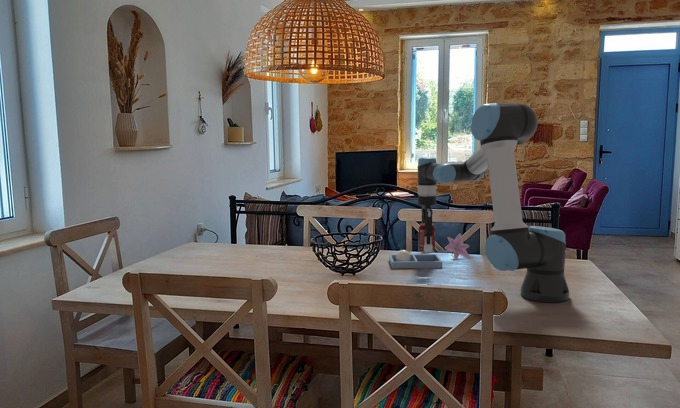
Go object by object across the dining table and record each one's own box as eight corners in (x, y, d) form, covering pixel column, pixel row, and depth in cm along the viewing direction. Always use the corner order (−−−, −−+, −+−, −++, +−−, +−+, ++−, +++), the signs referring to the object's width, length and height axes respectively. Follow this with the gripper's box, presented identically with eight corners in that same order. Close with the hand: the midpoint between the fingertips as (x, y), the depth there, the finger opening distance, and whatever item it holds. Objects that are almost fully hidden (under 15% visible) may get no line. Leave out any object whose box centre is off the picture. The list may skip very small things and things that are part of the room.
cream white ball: (411, 265, 217) (411, 251, 216) (396, 265, 217) (396, 251, 216) (409, 262, 223) (409, 248, 222) (395, 262, 223) (395, 248, 222)
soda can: (434, 254, 215) (434, 225, 214) (418, 253, 217) (418, 224, 215) (435, 250, 222) (435, 222, 220) (418, 250, 223) (419, 222, 222)
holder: (442, 268, 213) (442, 261, 213) (392, 269, 213) (391, 262, 213) (436, 260, 226) (436, 254, 226) (389, 261, 227) (389, 254, 226)
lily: (439, 261, 230) (447, 244, 225) (439, 245, 240) (447, 229, 235) (465, 269, 230) (474, 252, 225) (464, 253, 240) (472, 237, 235)
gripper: (440, 197, 206) (439, 255, 209) (432, 192, 226) (431, 244, 229) (421, 198, 206) (420, 255, 209) (414, 192, 226) (414, 245, 229)
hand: (426, 249), depth 219 cm, fingers closed on soda can, 7 cm apart
